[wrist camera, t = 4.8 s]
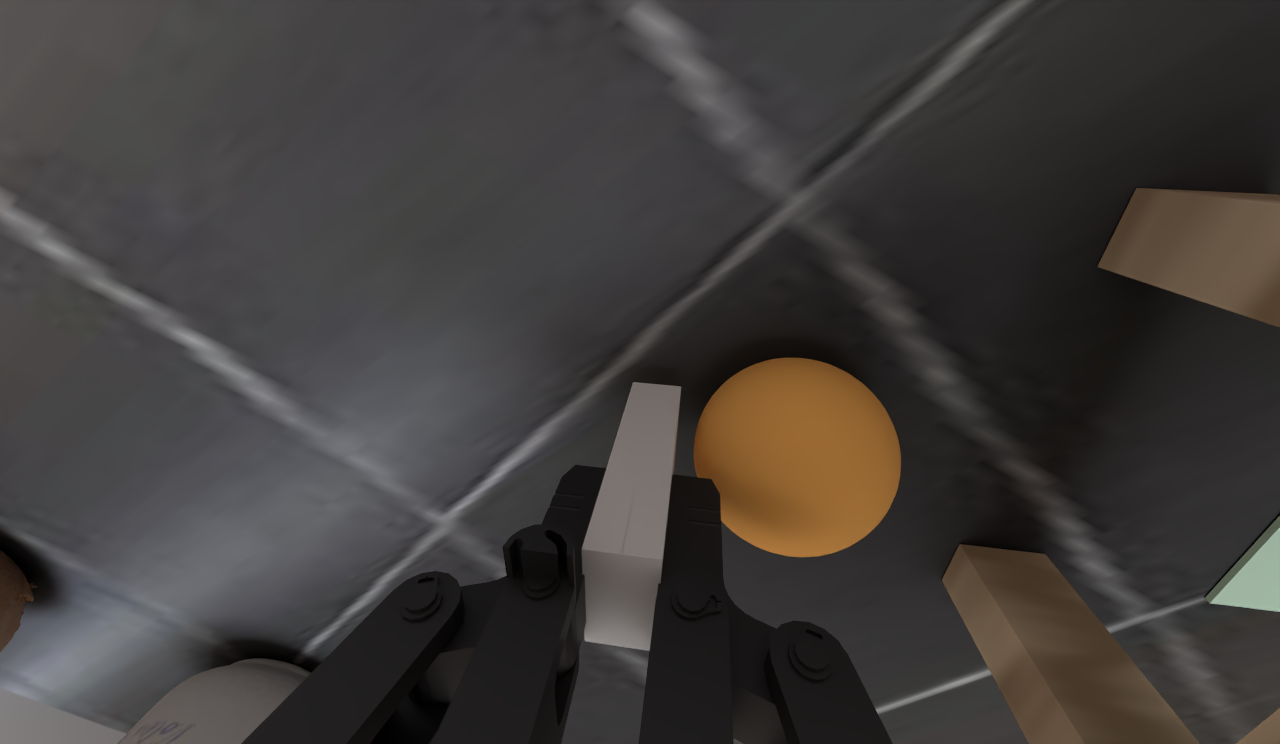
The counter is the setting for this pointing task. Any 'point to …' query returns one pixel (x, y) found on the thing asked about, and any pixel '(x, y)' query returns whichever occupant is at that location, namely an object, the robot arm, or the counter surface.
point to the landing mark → (1253, 576)
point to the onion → (11, 598)
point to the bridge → (1029, 582)
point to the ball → (798, 456)
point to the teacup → (218, 704)
